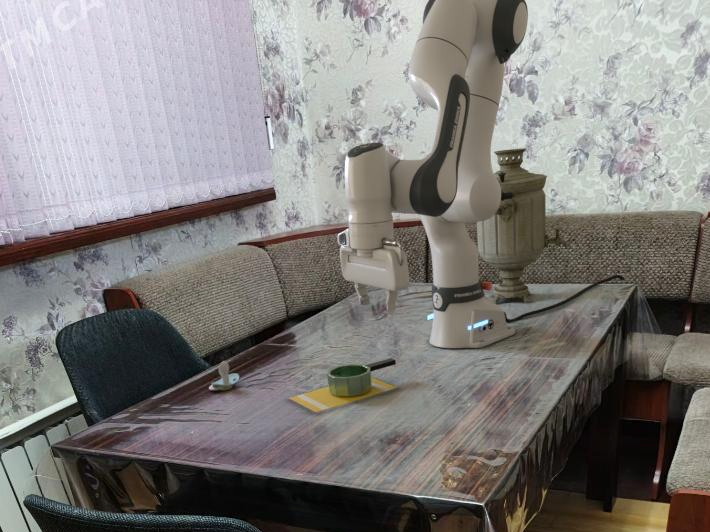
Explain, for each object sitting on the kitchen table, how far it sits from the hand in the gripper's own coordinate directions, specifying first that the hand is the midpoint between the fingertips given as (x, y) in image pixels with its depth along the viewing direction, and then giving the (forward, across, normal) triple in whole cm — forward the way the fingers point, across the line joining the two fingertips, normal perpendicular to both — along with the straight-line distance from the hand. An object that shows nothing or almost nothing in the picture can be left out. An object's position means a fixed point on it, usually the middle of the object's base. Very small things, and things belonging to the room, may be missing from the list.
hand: (377, 307), depth 148 cm
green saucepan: (+16, 0, +5) cm, 17 cm away
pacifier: (+17, +25, +27) cm, 41 cm away
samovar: (+16, +33, -72) cm, 81 cm away
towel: (+16, 0, +10) cm, 19 cm away
